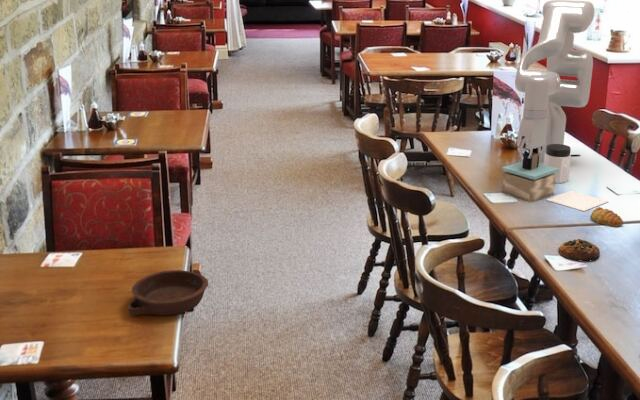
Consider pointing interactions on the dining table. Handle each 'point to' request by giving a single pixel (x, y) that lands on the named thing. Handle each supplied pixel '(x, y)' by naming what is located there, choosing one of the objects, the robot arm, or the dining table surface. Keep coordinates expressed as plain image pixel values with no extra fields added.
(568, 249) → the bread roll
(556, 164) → the jar
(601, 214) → the pastry
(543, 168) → the lid
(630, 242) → the dining table surface
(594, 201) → the mat
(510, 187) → the box
